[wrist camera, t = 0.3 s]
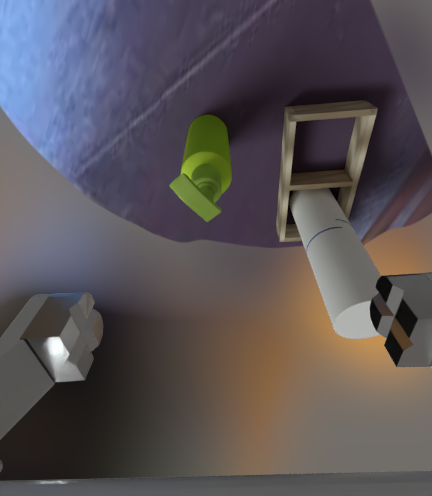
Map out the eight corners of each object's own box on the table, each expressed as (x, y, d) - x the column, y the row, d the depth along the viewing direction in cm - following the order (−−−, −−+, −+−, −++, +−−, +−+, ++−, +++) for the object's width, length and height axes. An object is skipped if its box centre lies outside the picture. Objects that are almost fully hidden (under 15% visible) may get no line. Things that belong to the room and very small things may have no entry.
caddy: (285, 106, 41) (290, 115, 38) (365, 100, 41) (377, 108, 38) (276, 228, 55) (279, 242, 52) (336, 224, 54) (343, 238, 51)
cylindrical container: (289, 184, 49) (337, 303, 30) (333, 179, 48) (410, 296, 29) (288, 219, 54) (329, 341, 35) (328, 214, 53) (392, 336, 34)
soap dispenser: (204, 99, 40) (198, 161, 25) (235, 137, 44) (247, 211, 29) (174, 128, 43) (153, 200, 28) (206, 161, 46) (203, 242, 31)
